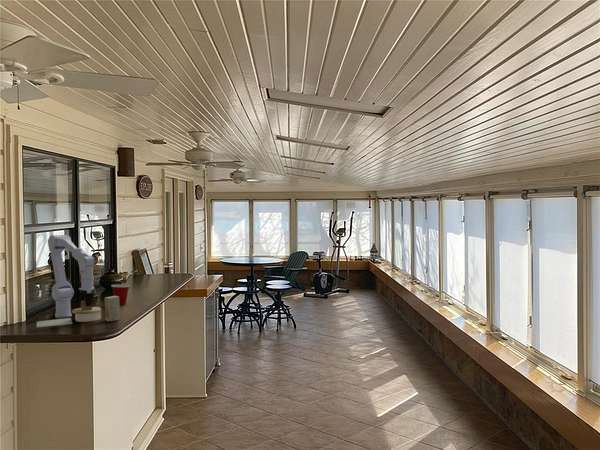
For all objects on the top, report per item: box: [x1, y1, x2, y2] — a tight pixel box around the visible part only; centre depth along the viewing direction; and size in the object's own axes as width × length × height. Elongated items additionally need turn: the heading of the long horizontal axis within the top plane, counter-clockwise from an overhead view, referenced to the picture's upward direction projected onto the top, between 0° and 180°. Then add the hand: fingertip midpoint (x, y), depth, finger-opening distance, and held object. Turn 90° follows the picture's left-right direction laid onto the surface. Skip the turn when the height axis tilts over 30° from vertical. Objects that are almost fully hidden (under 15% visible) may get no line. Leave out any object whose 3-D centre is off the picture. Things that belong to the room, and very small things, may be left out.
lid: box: [71, 300, 102, 314], centre depth 273 cm, size 14×14×6 cm
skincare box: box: [104, 295, 121, 322], centre depth 271 cm, size 6×4×12 cm
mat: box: [36, 317, 73, 328], centre depth 266 cm, size 16×16×1 cm
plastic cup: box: [111, 284, 131, 306], centre depth 318 cm, size 11×11×12 cm
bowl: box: [74, 310, 102, 323], centre depth 273 cm, size 12×12×4 cm
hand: (87, 305), depth 273 cm, fingers open, 6 cm apart
